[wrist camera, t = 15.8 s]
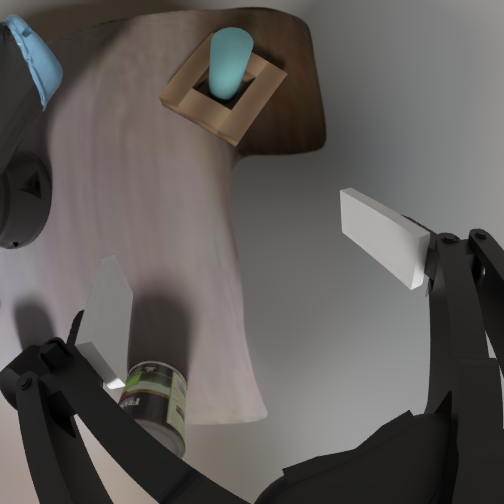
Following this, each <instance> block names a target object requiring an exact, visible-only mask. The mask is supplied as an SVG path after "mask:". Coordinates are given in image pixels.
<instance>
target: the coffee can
mask: <svg viewBox="0 0 504 504" xmlns="http://www.w3.org/2000/svg"><path fill="white" fill-rule="evenodd" d="M186 393H187V384H186V381H185V379H184V377H183V376H182V374H181V373H180V372H179V371H178V370H176V369H175V368H174V367H172V366H170V365H168V364H166V363H163V362H159V361H144V362H141V363H138V364H136V365H135V366H134V367H132V369H131V370H130V371H129V374H128V377H127V381H126V386H124V389H123V392H122V394H121V397H120V400H119V403H118V405H119V406H120V407H121V408H122V409H123V410H124V411H125V412H126V413H127V414H129V415H130V416H131V417H132V418H133V419H134V420H135V421H136V422H137V423H138V424H139V425H140V426H141V427H143V428H144V429H145V430H146V431H147V432H148V433H149V434H151V435H152V436H153V437H154V438H155V439H156V440H158V441H159V442H160V443H161V444H162V445H164V446H165V447H166V448H167V449H169V450H170V451H171V452H172V453H174V454H175V455H176V456H178V457H179V458H180V459H182V458H183V456H184V454H185V443H184V441H185V415H186Z"/></svg>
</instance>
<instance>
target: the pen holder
mask: <svg viewBox="0 0 504 504" xmlns="http://www.w3.org/2000/svg"><path fill="white" fill-rule="evenodd" d="M40 348H41V347H38V346H30V347H28V348H26V349H25V350H24V351H23V352H22V353H20V354H19V355H18V356H17V357H16V358H15V359H14V360H13V361H12V362H10V363H9V364H8V365H7V366H6V367H5V368H4V369H3V370H2V371H1V372H0V390H1V392H2V394H3V396H4V397H5V399H6V400H7V401H8V403H9V404H10V405H11V406H12V407H13V408H14V409H16V410H17V402H16V392H15V387H16V383H17V381H18V379H19V378H20V376H21V375H23V374H24V373H26V372H28V371H32V372H34V373H35V374H36V375H37V376H38V377H39V378H40V377H41V376H43V375H45V374H47V373H49V371H48V370H47V369H46V368H45V367H44V366H43V364H42V363H41V362H40V361H39V360H38V352H39V350H40ZM17 411H18V410H17Z"/></svg>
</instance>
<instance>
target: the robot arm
mask: <svg viewBox="0 0 504 504" xmlns="http://www.w3.org/2000/svg"><path fill="white" fill-rule="evenodd" d="M62 78H63V71H62V67H61V65H60V63H59V61H58V60H57V58H56V57H55V55H54V54H53V53H52V51H51V50H50V49H49V47H48V46H47V45H46V44H45V42H44V41H43V40H42V39H41V38H40V37H39V36H38V35H37V34H36V33H35V32H33V31H32V29H31V28H30V27H29V26H28V25H27V23H26V22H25V21H23V20H22V19H21V18H20V17H18V16H16V15H13V14H11V15H9V16H7V17H6V18H4V19H3V20H2V21H1V23H0V247H2V248H5V249H17V248H20V247H23V246H26V245H28V244H30V243H31V242H33V241H34V240H35V239H36V238H37V237H38V236H39V234H40V233H41V231H42V230H43V228H44V226H45V223H46V221H47V218H48V215H49V210H50V204H51V187H50V181H49V177H48V174H47V171H46V169H45V167H44V165H43V164H42V162H41V161H40V160H39V159H38V158H37V157H36V156H34V155H33V154H30V153H27V152H22V151H16V150H17V149H18V147H19V145H20V143H21V142H22V140H23V138H24V137H25V135H26V134H27V132H28V130H29V129H30V127H31V126H32V124H33V123H34V121H35V120H36V118H37V117H38V115H39V114H40V113H41V111H42V112H43V111H44V110H45V109H46V106H47V103H48V101H49V100H50V99H51V97H52V96H53V94H54V93H55V92H56V90H57V89H58V87H59V86H60V84H61V82H62ZM340 197H341V218H342V232H343V233H344V234H345V235H347V236H348V237H349V238H351V239H352V240H353V241H354V242H355V243H357V244H358V245H359V246H360V247H362V248H363V249H364V250H365V251H366V252H368V253H369V254H370V255H372V256H373V257H374V258H375V259H376V260H377V261H378V262H380V263H381V264H382V265H383V266H384V267H385V268H387V269H388V270H389V271H390V272H391V273H392V274H394V275H395V276H396V277H397V278H398V279H399V280H401V281H402V282H403V283H404V284H405V285H406V286H407V287H409V289H411V290H412V289H414V288H416V287H418V286H420V285H421V284H422V282H423V277H424V274H426V275H427V276H428V277H429V281H428V286H427V290H426V295H425V297H427V296H428V293H429V307H430V338H431V339H430V340H431V341H430V376H429V392H428V401H427V406H426V409H425V412H424V414H419V415H415V416H413V415H412V413H411V412H410V410H408V411H407V412H405V413H403V414H402V415H400V416H398V417H397V418H395V419H393V420H392V421H390V422H388V423H386V424H384V425H383V426H381V427H380V428H379V429H378V430H377V431H376V432H375V433H374V434H373V435H372V436H370V437H369V438H368V439H367V440H366V441H364V442H363V443H362V444H361V445H359V446H358V447H357V448H355V449H353V450H349V451H344V452H340V453H335V454H329V455H324V456H318V457H315V458H312V459H309V460H307V461H304V462H301V463H299V464H296V465H293V466H290V467H287V468H284V469H282V470H283V473H284V475H285V476H282V477H280V478H279V479H277V480H276V481H274V482H273V483H272V484H270V485H269V486H268V487H267V488H266V489H265V490H264V491H263V492H262V493H261V494H260V496H259V497H258V498H257V500H256V501H255V503H254V504H504V429H503V401H502V387H501V377H500V368H501V371H502V374H503V377H504V250H503V249H502V248H501V247H500V245H499V244H498V243H497V242H496V241H495V239H494V238H493V237H492V236H491V235H490V234H489V233H488V232H486V231H484V230H483V229H482V230H481V229H472V230H470V233H469V238H468V239H464V240H460V238H459V237H457V236H456V235H453V234H451V233H440V234H436V233H434V232H433V231H431V230H429V229H428V228H426V227H424V226H423V225H421V224H419V223H418V222H416V221H414V220H413V219H411V218H409V217H407V216H403V215H400V214H398V213H396V212H395V211H393V210H391V209H389V208H387V207H386V206H384V205H382V204H380V203H378V202H377V201H375V200H373V199H371V198H369V197H367V196H366V195H364V194H362V193H360V192H358V191H356V190H354V189H352V188H348V189H344V190H340ZM484 268H485V275H484V274H483V272H484ZM132 302H133V292H132V290H131V288H130V286H129V284H128V282H127V280H126V278H125V276H124V274H123V271H122V269H121V267H120V265H119V263H118V260H117V258H116V256H115V254H113V255H110V256H107V257H104V258H102V261H101V264H100V266H99V269H98V272H97V275H96V277H95V280H94V283H93V286H92V289H91V292H90V295H89V298H88V301H87V304H86V307H85V310H82V311H79V313H78V314H77V315H76V317H75V318H74V320H73V323H72V326H71V327H72V328H71V330H70V335H69V336H68V340H67V343H66V344H65V343H64V341H63V340H62V339H61V338H59V337H54V338H51V339H49V340H48V341H46V342H45V343H44V344H43V345H42V346H41V348H40V350H39V352H38V360H39V361H40V362H41V363H42V364H43V366H44V367H45V368H46V369H47V370H48V371H49V373H47V374H45V375H43V376H41V377H40V378H39V377H38V376H37V375H36V374H35V373H34V372H32V371H28V372H26V373H24V374H23V375H21V376H20V378H19V379H18V381H17V383H16V387H15V392H16V402H17V410H18V417H19V424H20V430H21V435H22V440H23V445H24V449H25V454H26V458H27V462H28V466H29V469H30V474H31V477H32V481H33V484H34V487H35V490H36V493H37V496H38V499H39V502H40V504H114V503H113V502H112V500H111V499H110V496H109V495H108V493H107V491H106V489H105V487H104V485H103V484H102V481H101V479H100V478H99V475H98V473H97V472H96V469H95V467H94V465H93V463H92V461H91V458H90V456H89V454H88V452H87V449H86V447H85V445H84V442H83V440H82V437H81V435H80V432H79V430H78V427H77V425H76V421H75V419H74V416H73V415H75V414H78V416H79V417H80V418H81V420H82V421H83V422H84V424H85V425H86V426H87V428H88V429H89V430H90V431H91V433H92V434H93V435H94V437H95V438H96V439H97V440H98V441H99V443H100V444H101V445H102V446H103V447H104V448H105V449H106V451H107V452H108V453H109V454H110V455H111V456H112V458H113V459H114V460H115V461H116V462H117V463H118V464H119V465H120V466H121V467H122V468H123V469H124V470H125V471H126V472H127V473H128V474H129V476H130V477H131V478H133V479H134V480H135V481H136V482H137V483H138V484H139V485H140V486H141V487H142V488H143V489H144V490H145V491H146V492H147V493H148V494H149V495H150V496H152V497H153V498H154V499H155V500H156V501H157V502H158V503H159V504H250V503H248V502H247V501H245V500H243V499H241V498H239V497H238V496H236V495H234V494H233V493H231V492H229V491H228V490H226V489H224V488H223V487H221V486H219V485H218V484H216V483H215V482H213V481H212V480H210V479H209V478H207V477H206V476H204V475H203V474H201V473H200V472H198V471H197V470H195V469H194V468H192V467H191V466H190V465H188V464H187V463H186V462H184V461H183V460H182V459H180V458H179V457H178V456H176V455H175V454H174V453H172V452H171V451H170V450H169V449H167V448H166V447H165V446H164V445H162V444H161V443H160V442H159V441H158V440H156V439H155V438H154V437H153V436H152V435H151V434H149V433H148V432H147V431H146V430H145V429H144V428H143V427H141V426H140V425H139V424H138V423H137V422H136V421H135V420H134V419H133V418H132V417H131V416H130V415H129V414H127V413H126V412H125V411H124V410H123V409H122V408H121V407H120V406H119V405H118V404H117V403H116V402H115V401H114V400H113V399H112V398H111V397H110V396H109V394H108V393H107V392H106V391H105V390H104V389H103V381H104V382H105V384H106V385H107V386H108V387H109V388H110V389H114V388H119V387H124V386H126V368H127V352H128V340H129V329H130V319H131V310H132ZM485 331H486V333H487V335H488V337H489V340H490V342H491V345H492V347H493V350H494V352H495V355H496V358H497V359H496V358H489V354H488V346H487V340H486V333H485ZM499 366H500V368H499Z"/></svg>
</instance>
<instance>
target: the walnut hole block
mask: <svg viewBox="0 0 504 504" xmlns="http://www.w3.org/2000/svg"><path fill="white" fill-rule="evenodd" d="M214 34H215V33H214V32H212V33H211V34H210V35H209V36H208V37H207V38H206V39H205V41H204V42H203V43H202V44H201V45H200V46H199V47H198V48H197V49H196V51H195V52H194V53H193V54H192V55H191V56H190V57H189V59H188V60H187V61H186V62H185V63H184V65H183V66H182V67H181V68H180V69H179V71H178V72H177V73H176V74H175V76H174V77H173V78H172V79H171V81H170V82H169V83H168V84H167V86H166V87H165V88H164V90H163V91H162V92H161V94H160V95H159V98H160V100H161V102H162V105H163V106H165V107H167V108H168V109H170V110H172V111H174V112H176V113H177V114H179V115H181V116H183V117H185V118H186V119H188V120H190V121H192V122H194V123H195V124H197V125H199V126H200V127H202V128H204V129H206V130H207V131H209V132H211V133H212V134H214V135H216V136H217V137H219V138H221V139H222V140H224V141H226V142H227V143H229V144H231V145H232V146H234V147H236V146H237V144H238V143H239V141H240V140H241V138H242V137H243V135H244V134H245V133H246V131H247V130H248V128H249V127H250V125H251V124H252V122H253V121H254V120H255V118H256V117H257V115H258V114H259V113H260V111H261V110H262V108H263V107H264V106H265V104H266V103H267V101H268V100H269V99H270V97H271V96H272V95H273V93H274V92H275V90H276V89H277V88H278V86H279V85H280V84H281V82H282V81H283V80H284V78H285V77H286V75H287V73H286V72H284V71H282V70H281V69H279V68H278V67H276V66H274V65H273V64H271V63H269V62H268V61H266V60H264V59H263V58H261V57H259V56H258V55H256V54H254V53H252V52H251V54H250V57H249V60H248V63H247V66H246V69H245V72H244V75H243V78H242V81H241V84H240V87H239V90H238V93H237V96H236V98H235V99H234V100H233V101H232V102H230V103H228V104H219V103H218V102H216V101H214V100H212V99H211V98H210V97H209V94H208V87H209V66H210V49H211V39H212V37H213V35H214Z"/></svg>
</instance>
